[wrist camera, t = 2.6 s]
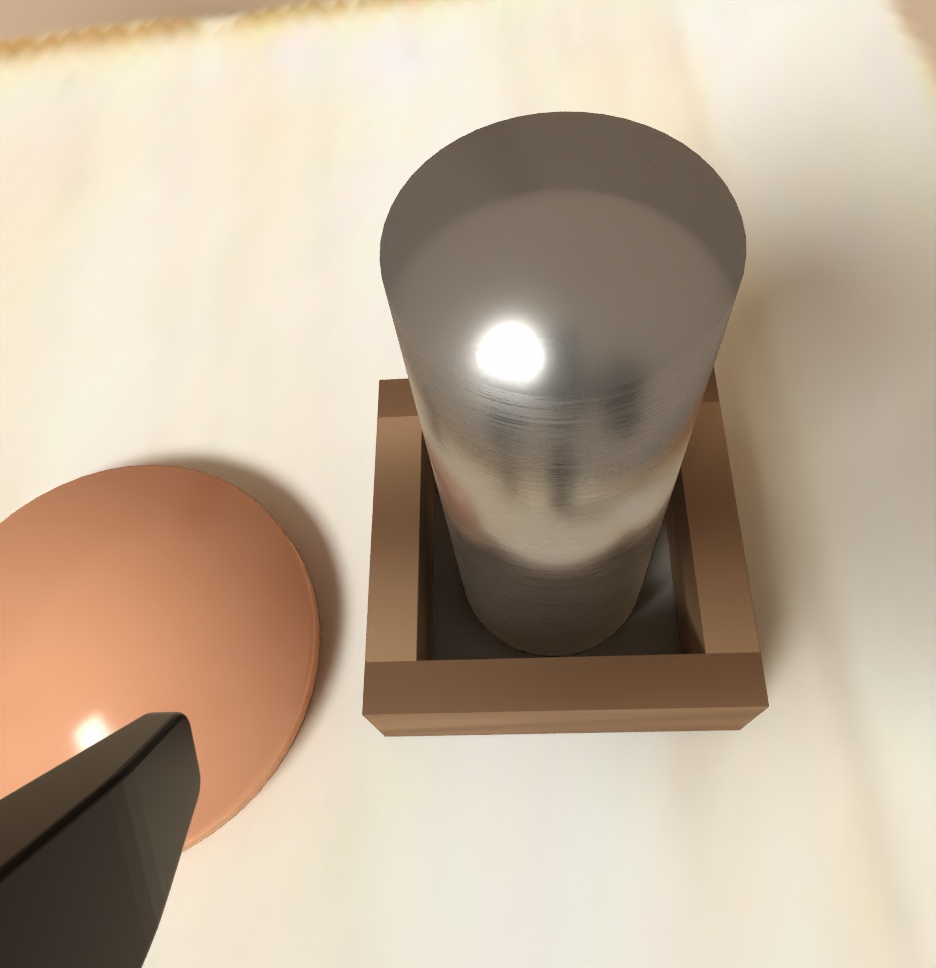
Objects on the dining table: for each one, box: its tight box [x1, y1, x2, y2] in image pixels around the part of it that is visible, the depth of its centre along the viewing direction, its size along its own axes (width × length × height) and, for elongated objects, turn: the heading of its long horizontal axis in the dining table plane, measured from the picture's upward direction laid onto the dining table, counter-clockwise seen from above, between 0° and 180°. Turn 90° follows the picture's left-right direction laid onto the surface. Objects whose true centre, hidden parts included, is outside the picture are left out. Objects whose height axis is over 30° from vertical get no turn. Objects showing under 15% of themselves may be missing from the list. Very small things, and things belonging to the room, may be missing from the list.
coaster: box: [0, 465, 320, 852], centre depth 22 cm, size 11×11×1 cm
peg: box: [380, 112, 746, 656], centre depth 17 cm, size 5×5×13 cm
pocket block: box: [362, 366, 769, 736], centre depth 22 cm, size 9×9×3 cm
